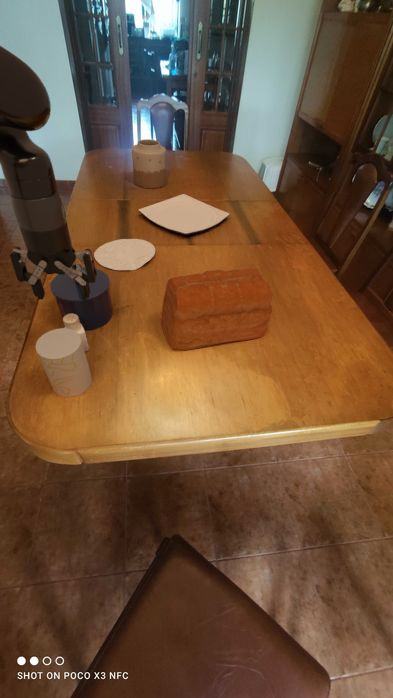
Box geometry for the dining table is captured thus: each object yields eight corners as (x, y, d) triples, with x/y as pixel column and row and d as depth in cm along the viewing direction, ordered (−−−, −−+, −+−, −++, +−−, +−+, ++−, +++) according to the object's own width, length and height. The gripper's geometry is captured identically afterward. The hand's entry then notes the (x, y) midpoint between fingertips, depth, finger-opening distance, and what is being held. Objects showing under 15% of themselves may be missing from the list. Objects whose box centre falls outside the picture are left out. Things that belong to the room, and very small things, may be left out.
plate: (133, 216, 126) (132, 209, 124) (183, 198, 141) (183, 192, 139) (185, 243, 114) (185, 236, 112) (233, 220, 129) (234, 214, 127)
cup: (44, 392, 66) (26, 353, 58) (65, 363, 72) (50, 324, 63) (80, 401, 65) (67, 363, 57) (98, 371, 71) (88, 333, 62)
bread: (270, 337, 82) (286, 290, 72) (170, 354, 76) (171, 305, 65) (250, 304, 91) (261, 258, 81) (158, 317, 85) (157, 268, 74)
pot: (67, 336, 78) (57, 305, 71) (58, 305, 86) (49, 275, 79) (118, 323, 82) (113, 293, 75) (105, 295, 90) (100, 266, 83)
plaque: (167, 251, 108) (167, 247, 107) (127, 278, 96) (127, 274, 95) (123, 235, 116) (123, 231, 115) (81, 259, 104) (80, 255, 103)
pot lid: (56, 309, 71) (49, 289, 67) (47, 276, 79) (40, 256, 75) (116, 296, 76) (114, 276, 72) (102, 266, 84) (99, 247, 80)
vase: (170, 180, 155) (170, 140, 143) (159, 191, 145) (159, 149, 133) (141, 175, 158) (139, 135, 146) (128, 185, 147) (125, 144, 135)
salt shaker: (90, 351, 75) (82, 320, 68) (73, 356, 74) (63, 326, 67) (85, 340, 77) (77, 310, 71) (68, 345, 76) (58, 315, 69)
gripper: (-12, 228, 50) (22, 308, 61) (82, 231, 51) (97, 309, 63) (4, 208, 55) (32, 286, 67) (89, 211, 56) (102, 287, 68)
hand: (64, 297), depth 65 cm, fingers open, 8 cm apart
